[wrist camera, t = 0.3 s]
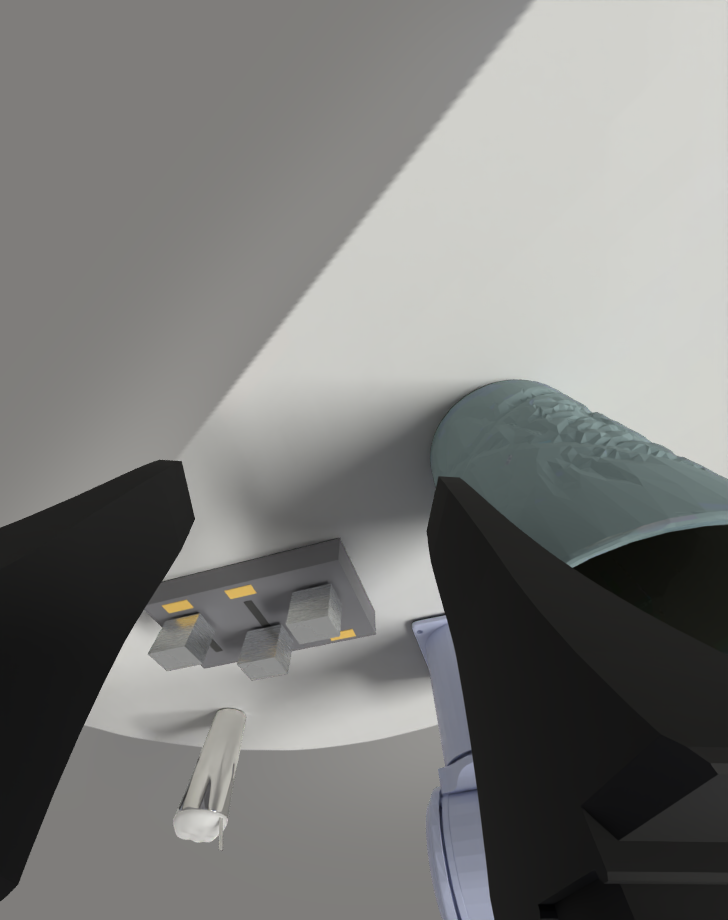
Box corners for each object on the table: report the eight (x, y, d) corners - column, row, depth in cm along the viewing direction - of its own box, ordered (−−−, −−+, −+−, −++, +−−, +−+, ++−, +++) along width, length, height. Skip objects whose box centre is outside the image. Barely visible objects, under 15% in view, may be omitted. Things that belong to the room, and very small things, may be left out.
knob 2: (293, 641, 26) (287, 674, 24) (260, 647, 26) (251, 680, 24) (281, 624, 25) (274, 657, 23) (247, 631, 25) (236, 664, 23)
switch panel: (374, 611, 28) (375, 635, 26) (213, 645, 30) (204, 669, 28) (339, 538, 24) (338, 560, 22) (155, 583, 26) (140, 607, 24)
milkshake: (266, 718, 37) (238, 857, 28) (226, 728, 38) (187, 865, 29) (242, 699, 35) (202, 843, 26) (200, 710, 36) (149, 852, 27)
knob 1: (215, 630, 25) (202, 664, 23) (182, 638, 25) (167, 671, 23) (199, 613, 24) (184, 646, 22) (165, 621, 24) (147, 654, 22)
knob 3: (341, 603, 24) (340, 636, 22) (304, 611, 24) (299, 644, 22) (330, 583, 23) (327, 615, 20) (292, 592, 23) (285, 624, 21)
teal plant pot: (598, 347, 17) (957, 475, 7) (580, 501, 22) (772, 709, 12) (402, 392, 18) (457, 559, 8) (427, 529, 23) (481, 741, 13)
